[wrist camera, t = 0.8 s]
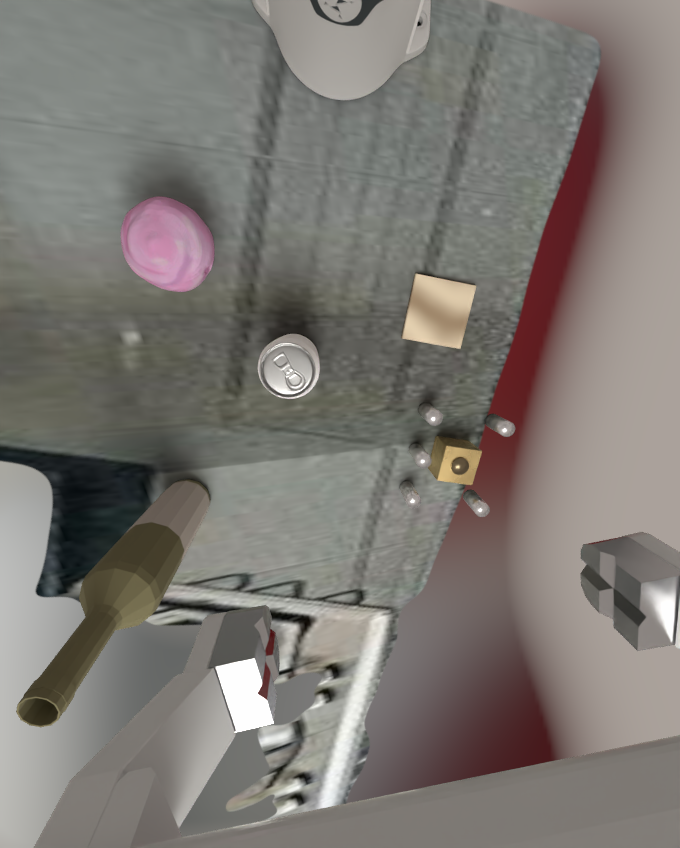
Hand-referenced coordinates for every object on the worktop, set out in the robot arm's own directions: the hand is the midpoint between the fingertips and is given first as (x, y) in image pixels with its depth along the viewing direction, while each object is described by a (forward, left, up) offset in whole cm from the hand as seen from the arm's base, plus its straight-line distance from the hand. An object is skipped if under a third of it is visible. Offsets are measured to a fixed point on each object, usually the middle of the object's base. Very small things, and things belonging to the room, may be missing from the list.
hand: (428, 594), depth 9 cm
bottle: (+21, -18, -42) cm, 50 cm away
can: (-1, -6, -42) cm, 42 cm away
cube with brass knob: (+9, +18, -41) cm, 46 cm away
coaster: (-10, +12, -41) cm, 44 cm away
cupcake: (-11, -20, -42) cm, 47 cm away
